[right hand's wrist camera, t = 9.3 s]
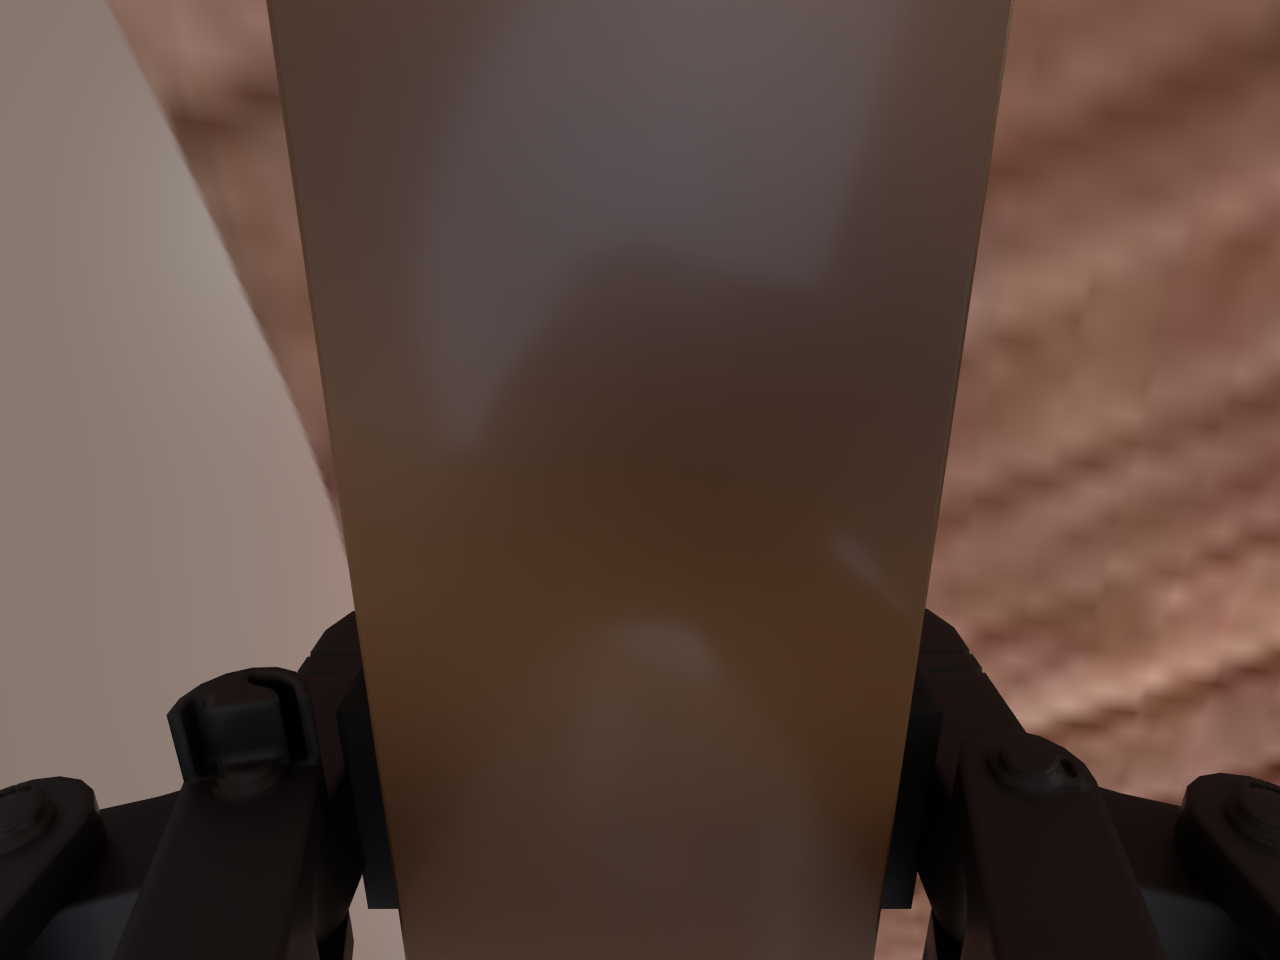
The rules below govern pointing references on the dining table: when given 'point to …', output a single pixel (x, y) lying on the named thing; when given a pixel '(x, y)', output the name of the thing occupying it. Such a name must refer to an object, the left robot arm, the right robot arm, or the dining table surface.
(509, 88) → the post
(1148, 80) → the dining table surface
